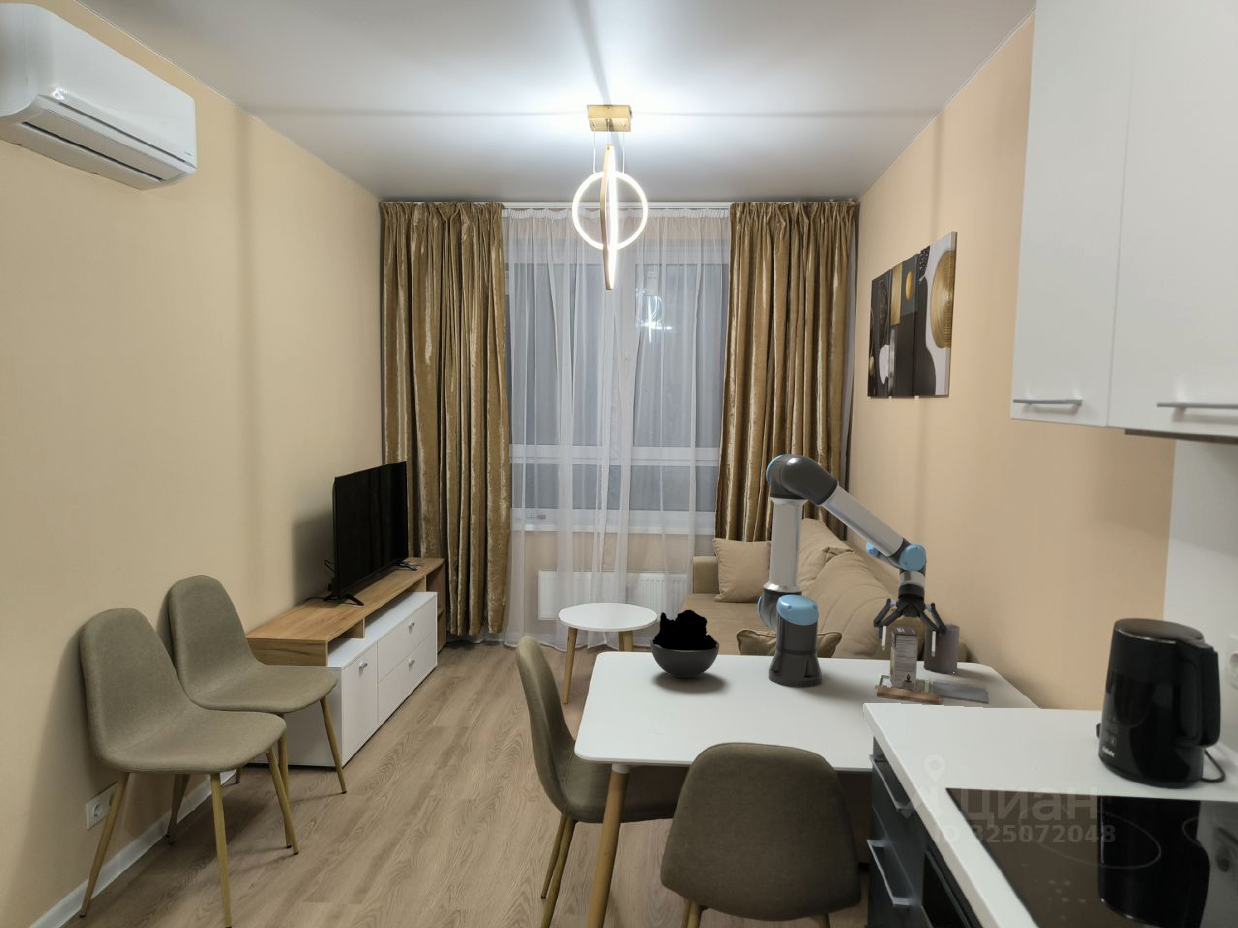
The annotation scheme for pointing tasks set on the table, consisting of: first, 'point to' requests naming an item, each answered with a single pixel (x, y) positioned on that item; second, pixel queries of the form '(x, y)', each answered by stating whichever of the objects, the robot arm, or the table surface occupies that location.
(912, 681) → the coffee box
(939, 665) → the pillar candle
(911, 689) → the sage stub frame
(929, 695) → the walnut ticket board
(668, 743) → the table surface
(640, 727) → the table surface
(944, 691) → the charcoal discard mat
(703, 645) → the coal bowl
